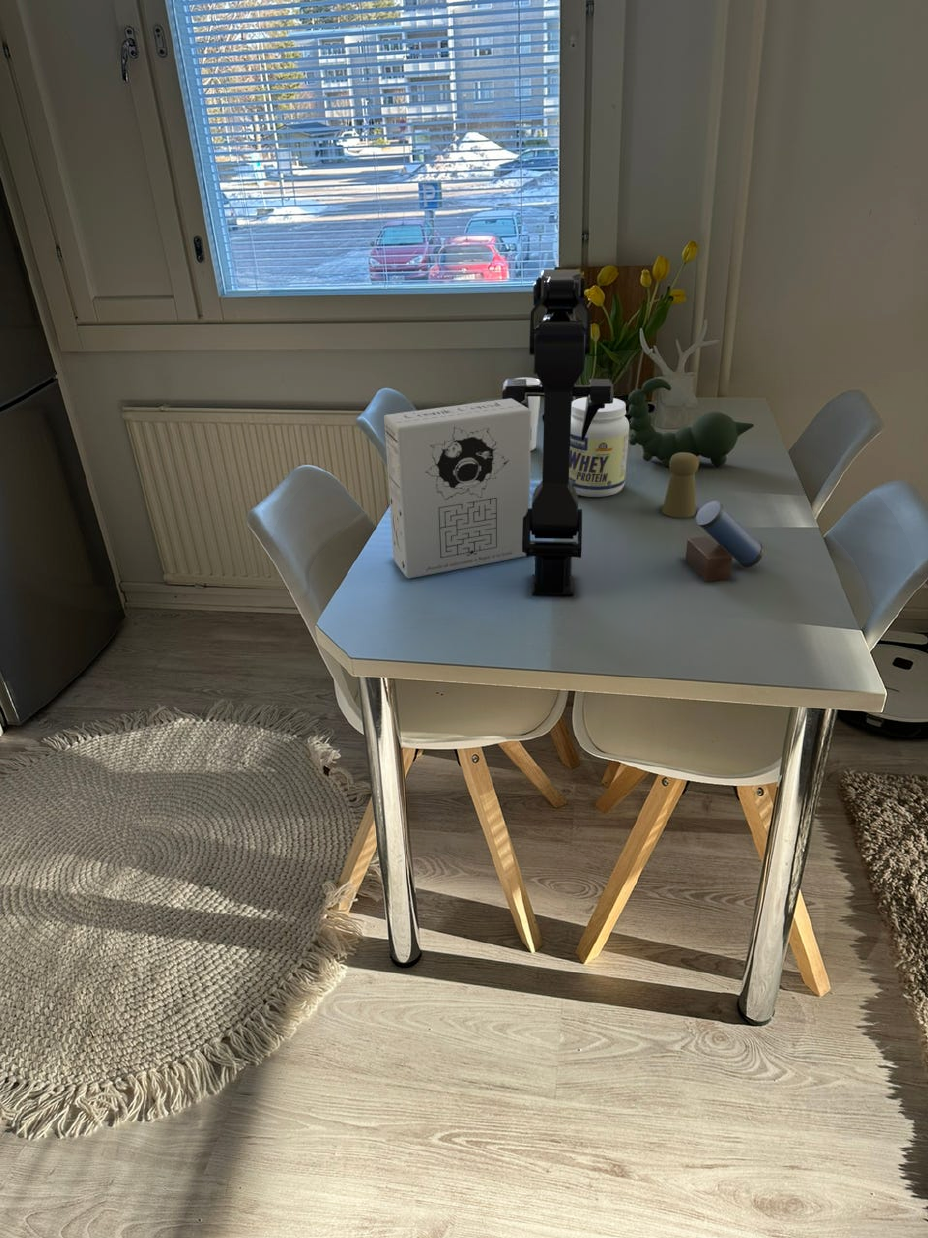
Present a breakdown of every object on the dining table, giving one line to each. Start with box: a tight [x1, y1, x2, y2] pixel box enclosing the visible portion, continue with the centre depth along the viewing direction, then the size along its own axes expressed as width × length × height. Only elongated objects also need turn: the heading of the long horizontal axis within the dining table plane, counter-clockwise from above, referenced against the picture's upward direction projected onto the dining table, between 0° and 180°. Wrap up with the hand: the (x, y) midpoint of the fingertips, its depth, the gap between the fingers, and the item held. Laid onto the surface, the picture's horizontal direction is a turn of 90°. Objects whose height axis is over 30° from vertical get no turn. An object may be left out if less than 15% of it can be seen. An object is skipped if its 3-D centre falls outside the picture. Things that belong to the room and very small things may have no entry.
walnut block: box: [684, 535, 733, 583], centre depth 140 cm, size 4×8×4 cm, turn 11°
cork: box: [662, 452, 700, 519], centre depth 160 cm, size 6×6×11 cm
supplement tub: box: [569, 397, 630, 498], centre depth 170 cm, size 12×12×17 cm
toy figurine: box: [627, 377, 755, 468], centre depth 180 cm, size 9×19×25 cm
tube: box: [695, 500, 765, 568], centre depth 139 cm, size 12×5×12 cm, turn 101°
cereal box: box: [383, 398, 531, 579], centre depth 141 cm, size 22×8×25 cm, turn 111°
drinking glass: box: [514, 377, 541, 452], centre depth 192 cm, size 7×7×15 cm
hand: (556, 439), depth 154 cm, fingers open, 9 cm apart
